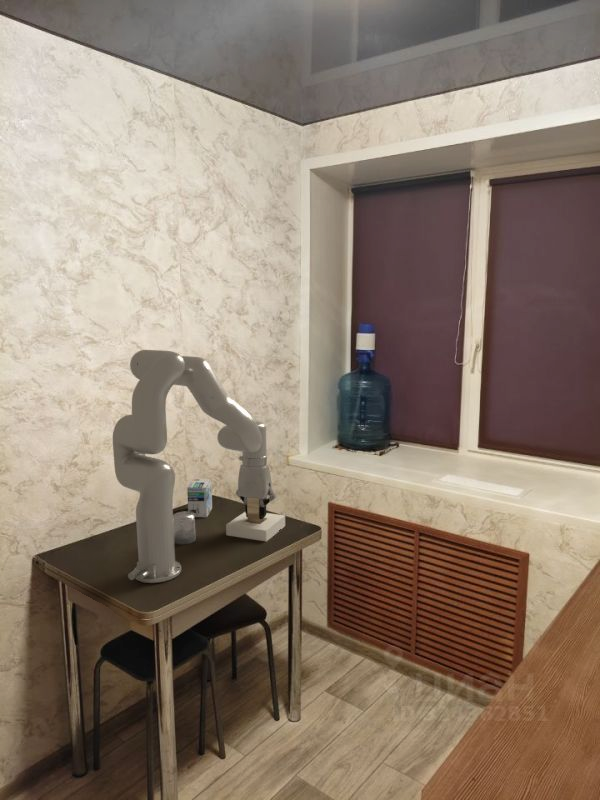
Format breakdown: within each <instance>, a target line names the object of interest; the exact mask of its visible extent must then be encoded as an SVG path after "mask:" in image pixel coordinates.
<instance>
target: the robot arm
mask: <svg viewBox="0 0 600 800" xmlns="http://www.w3.org/2000/svg"><path fill="white" fill-rule="evenodd" d="M129 368H130V372H131V374H132V375H133V376H134V377H135V378H136V379H138V382H137V383H136V385H135V387H134V390H133V392H132V395H131V414H128V415H127V414H126V415H124V416H122V417H121V418H119V419H118V421H117V422H116V423H115V425H114V427H113V432H112V450H113V452H112V453H113V464H114V466H113V467H114V472H115V477H116V480H117V482H118V483H119V484H120V485H121V486H123V487H124V488H126V489H130V490H133V491H135V492H138V493H139V498H138V501H137V503H136V507H135V521H136V522H135V523H136V535H137V536H136V537H137V553H138V556H137V557H138V561H137V562H136V567H135V568H134V569H133V570H132V571H130V572H129V573H128V575H127V578H128V579H129V580H131V581H134V580H137V581H139V582H141V583H146V584H147V583H148V584H156V583H157V584H158V583H163V582H167V581H168V582H169V581H170V580H172V579H174V578H177V577H178V576H179V575H180V574H181V573H182V565H181V563H180V562H179V561H177V560H176V554H175V553H176V551H175V547H176V546H175V542H174V525H173V515H174V511H173V510H174V509H173V508H174V507H173V503H174V502H173V499H174V490H175V484H176V483H175V482H176V474H175V471H174V468H173V467H172V465H170V463H168V462H167V461H165V460H163V459H159V458H155V457H152V456H147V455H159V454H160V453H162V452H163V451H164V450H165V448H166V447H167V444H168V443H167V442H168V430H167V411H166V409H167V407H166V406H167V397H168V394H169V392H170V390H171V389H172V388H173V386H174V385H175V386H182V387H186V388H187V389H188V390H189V392H190V393H191V395H192V396H193V398H194V400H195V401H196V403H197V404H198V406H199V407H200V409H201V411H203V412H204V414H206V415H207V416H208V417H210V418H212V419H214V420H216V421H218V422H220V423H222V424H224V426H223V427H222V428H220V430H219V431H218V433H217V437H216V438H217V442H218V444H219V445H220V447H222V448H223V449H227V450H230V451H231V450H232V451H235V452H241V453H242V455H240V456H239V457H238V460H239V461H241V462H242V464H240V466H239V469H238V470H239V473H238V481H237V489H236V491H235V495H236V497H238V498H239V499H240V500H241V501H242V502H243V505H244V509H245V510H244V512H245V513H246V517H248V516H247V497H249V498H257V499H259V500H260V505H261V507H259V518H260V519H263V518H264V517H265V516H266V513H267V506H268V504H269V503H270V502H272V501H273V500H275V499H277V497H276V494H275V493H274V490H273V487H272V486H273V485H272V477H271V471H270V466H269V464H268V463H267V458H268V457H267V456H268V455H267V426H266V424H265V423H264V422H262V421H255V420H254V418H253V417H252V416H251V414H250V413H249V412H248V411H247V410H246V409H245V408H244V407H242V406H241V405H240V404H239V403H238V402H237V401H235V400H234V399H233V398H232V397H230V396H229V395H228V393H227V392H226V390H225V388H224V387H223V385H222V383H221V382H220V380H219V378H218V377H217V375H216V373H215V371H214V369H213V368H212V366H211V364H210V363H209V362H208V361H207V360H206V359H205V358H203V357H200V356H199V357H198V356H187V355H186V356H185V355H180V354H179V353H178V352H175V351H170V350H163V349H159V350H158V349H157V350H156V349H141V350H139V351H137V352H135V353H134V354H133V355H132V357H131V358H130V363H129ZM268 496H269V497H268Z"/></svg>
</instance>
